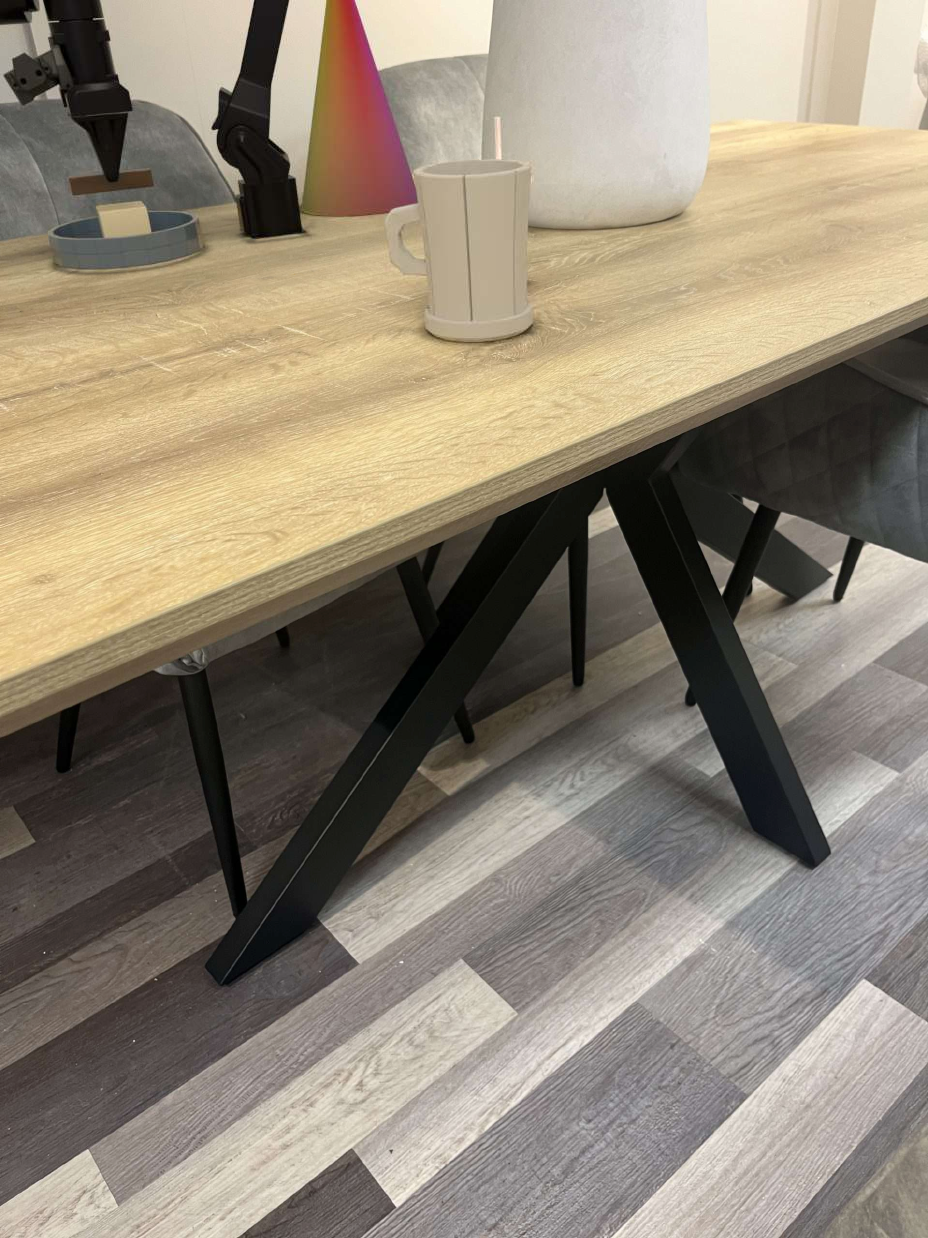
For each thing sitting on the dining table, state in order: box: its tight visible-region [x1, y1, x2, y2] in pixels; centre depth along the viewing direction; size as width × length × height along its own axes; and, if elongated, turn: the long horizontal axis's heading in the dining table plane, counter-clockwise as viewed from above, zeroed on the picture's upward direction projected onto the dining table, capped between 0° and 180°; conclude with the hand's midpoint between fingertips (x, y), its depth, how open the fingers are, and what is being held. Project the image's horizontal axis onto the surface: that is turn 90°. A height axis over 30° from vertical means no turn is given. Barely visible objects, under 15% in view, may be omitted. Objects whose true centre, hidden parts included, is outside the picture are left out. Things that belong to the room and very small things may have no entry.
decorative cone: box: [300, 0, 418, 217], centre depth 126 cm, size 16×16×30 cm
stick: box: [67, 167, 155, 196], centre depth 113 cm, size 9×2×2 cm, turn 112°
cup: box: [383, 158, 534, 343], centre depth 77 cm, size 10×9×12 cm
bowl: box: [47, 210, 205, 271], centre depth 111 cm, size 16×16×4 cm
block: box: [95, 200, 151, 238], centre depth 110 cm, size 5×5×5 cm
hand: (112, 180), depth 113 cm, fingers closed on stick, 2 cm apart
